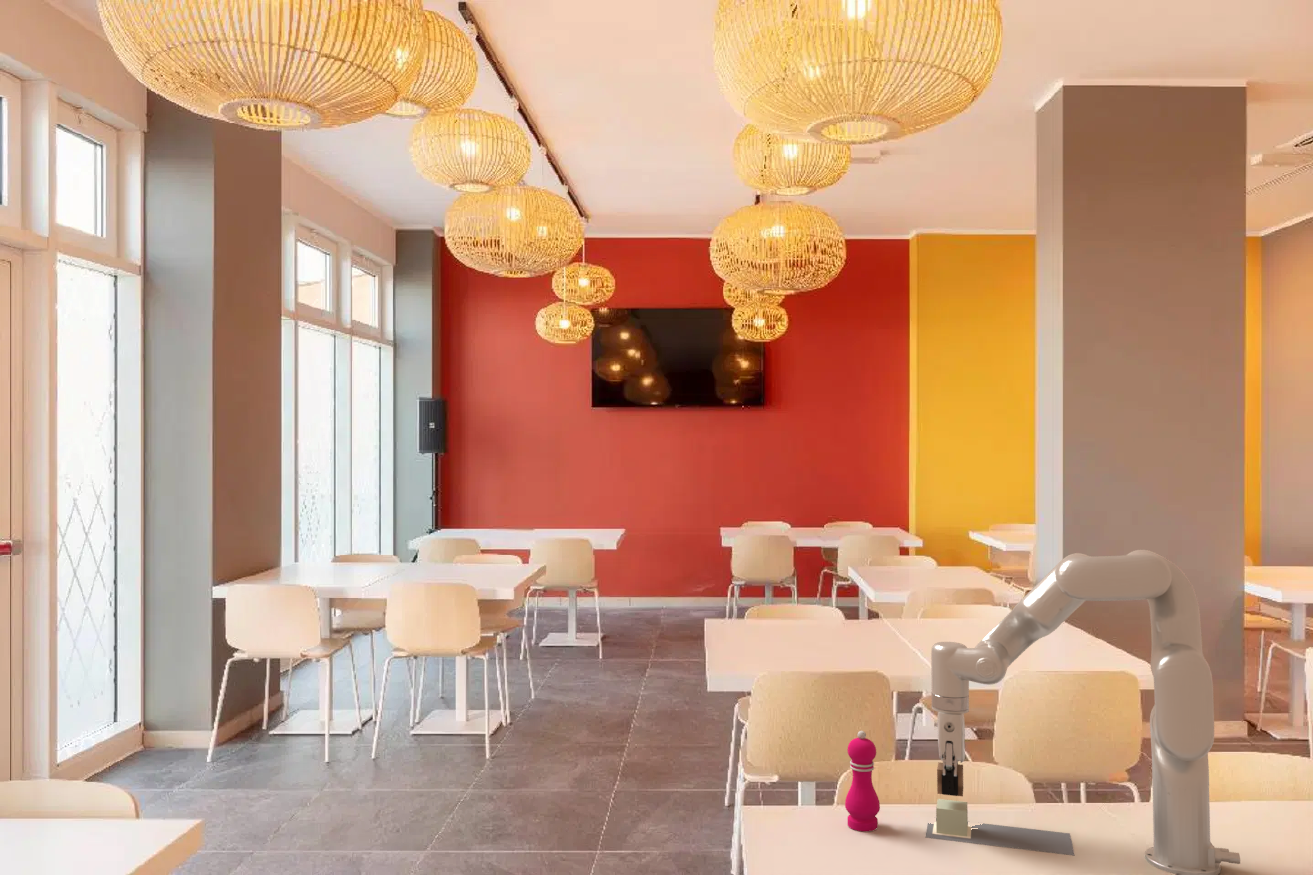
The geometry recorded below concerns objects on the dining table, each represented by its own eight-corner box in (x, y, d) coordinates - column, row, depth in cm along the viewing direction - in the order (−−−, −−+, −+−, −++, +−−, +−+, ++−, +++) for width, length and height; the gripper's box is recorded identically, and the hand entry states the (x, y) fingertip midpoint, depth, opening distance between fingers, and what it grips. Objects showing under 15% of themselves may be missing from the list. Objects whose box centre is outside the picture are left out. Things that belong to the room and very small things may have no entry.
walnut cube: (963, 788, 198) (963, 764, 199) (962, 796, 194) (962, 771, 194) (938, 786, 200) (938, 762, 200) (937, 793, 195) (937, 769, 196)
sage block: (967, 825, 198) (967, 801, 199) (967, 836, 193) (966, 811, 193) (937, 822, 200) (937, 798, 201) (936, 832, 195) (936, 808, 195)
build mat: (1069, 835, 195) (1069, 832, 195) (1074, 857, 183) (1074, 854, 183) (928, 818, 204) (928, 816, 204) (925, 839, 193) (925, 836, 193)
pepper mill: (880, 833, 195) (879, 736, 196) (845, 831, 197) (844, 734, 198) (879, 821, 203) (878, 727, 203) (845, 818, 204) (844, 725, 205)
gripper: (968, 713, 188) (968, 806, 188) (969, 695, 204) (970, 779, 204) (929, 710, 191) (929, 801, 190) (933, 692, 207) (934, 775, 206)
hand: (950, 789), depth 197 cm, fingers closed on walnut cube, 4 cm apart
